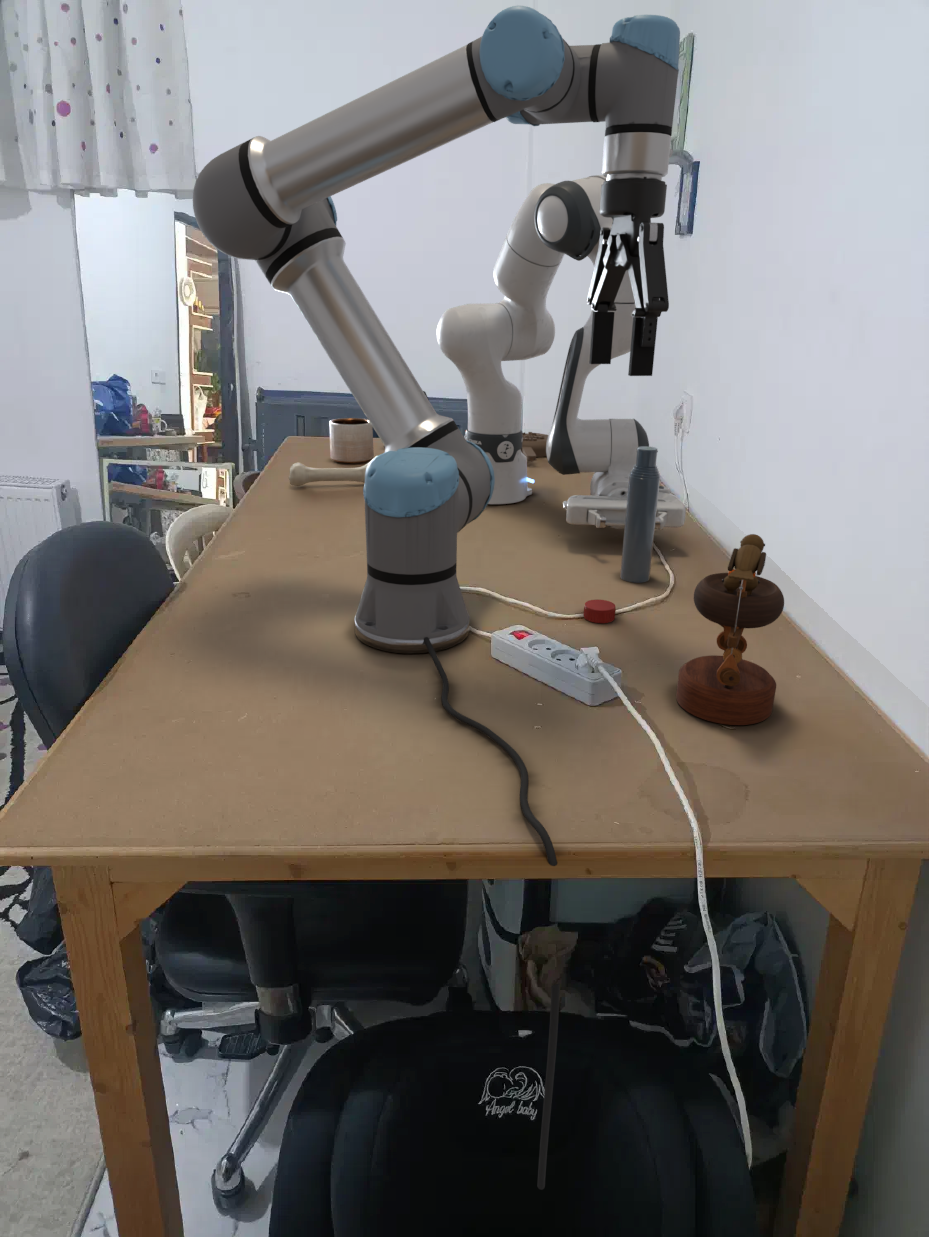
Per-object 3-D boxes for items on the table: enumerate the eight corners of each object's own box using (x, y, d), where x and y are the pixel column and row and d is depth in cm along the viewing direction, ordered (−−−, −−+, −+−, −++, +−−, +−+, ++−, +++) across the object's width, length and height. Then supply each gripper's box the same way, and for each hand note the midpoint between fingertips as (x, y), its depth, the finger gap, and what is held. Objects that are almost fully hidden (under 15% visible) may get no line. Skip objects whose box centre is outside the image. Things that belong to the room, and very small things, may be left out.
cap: (578, 613, 120) (579, 600, 119) (607, 610, 121) (608, 598, 120) (590, 624, 116) (591, 611, 116) (619, 622, 117) (620, 609, 117)
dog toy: (379, 480, 193) (379, 459, 191) (381, 487, 187) (381, 464, 185) (289, 482, 190) (288, 460, 188) (289, 489, 184) (287, 466, 182)
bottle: (629, 571, 138) (641, 444, 130) (654, 577, 135) (668, 448, 127) (614, 577, 134) (626, 448, 126) (639, 584, 132) (653, 452, 124)
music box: (791, 736, 88) (807, 553, 81) (683, 736, 90) (689, 557, 82) (760, 672, 102) (771, 512, 95) (667, 673, 104) (671, 515, 96)
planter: (327, 456, 217) (325, 418, 214) (369, 454, 220) (368, 417, 217) (334, 465, 208) (332, 425, 204) (377, 463, 211) (376, 424, 207)
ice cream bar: (489, 466, 209) (490, 449, 208) (482, 444, 235) (482, 429, 234) (574, 466, 210) (575, 449, 209) (557, 445, 236) (558, 430, 234)
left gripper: (715, 169, 87) (691, 381, 95) (624, 189, 110) (611, 359, 118) (647, 166, 86) (628, 381, 94) (569, 187, 108) (559, 359, 116)
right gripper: (562, 484, 151) (568, 503, 138) (678, 487, 150) (694, 507, 138) (560, 518, 154) (565, 540, 141) (674, 521, 153) (689, 544, 140)
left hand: (618, 369), depth 106 cm, fingers open, 13 cm apart
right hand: (630, 524), depth 139 cm, fingers open, 8 cm apart
